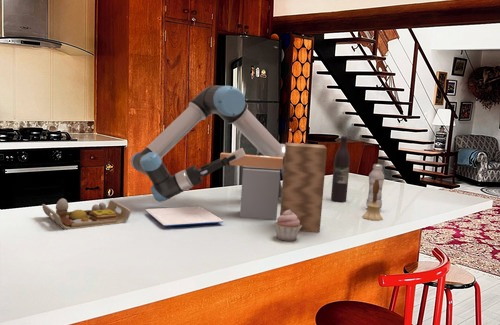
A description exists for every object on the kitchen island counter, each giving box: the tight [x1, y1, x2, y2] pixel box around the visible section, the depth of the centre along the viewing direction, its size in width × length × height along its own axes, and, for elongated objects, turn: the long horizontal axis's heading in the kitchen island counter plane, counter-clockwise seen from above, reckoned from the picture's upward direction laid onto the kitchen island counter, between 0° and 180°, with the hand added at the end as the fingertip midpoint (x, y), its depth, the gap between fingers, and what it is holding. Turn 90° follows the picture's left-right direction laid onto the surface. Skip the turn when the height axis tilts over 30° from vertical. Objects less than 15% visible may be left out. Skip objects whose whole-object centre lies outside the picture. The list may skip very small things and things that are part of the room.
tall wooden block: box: [279, 142, 328, 233], centre depth 183 cm, size 14×10×30 cm
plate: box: [145, 206, 225, 227], centre depth 185 cm, size 22×22×2 cm
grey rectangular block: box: [239, 166, 281, 221], centre depth 197 cm, size 14×10×18 cm
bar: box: [219, 152, 283, 169], centre depth 195 cm, size 24×4×4 cm, turn 88°
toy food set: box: [41, 197, 132, 231], centre depth 176 cm, size 25×18×8 cm
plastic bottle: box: [365, 163, 385, 210], centre depth 221 cm, size 6×7×20 cm
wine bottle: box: [330, 135, 351, 203], centre depth 234 cm, size 7×7×30 cm
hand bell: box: [362, 179, 384, 222], centre depth 205 cm, size 8×8×16 cm
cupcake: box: [273, 210, 302, 242], centre depth 169 cm, size 9×9×10 cm
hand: (243, 151), depth 195 cm, fingers open, 4 cm apart
